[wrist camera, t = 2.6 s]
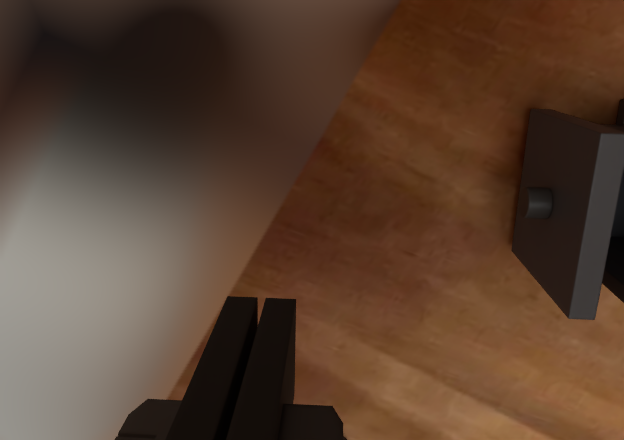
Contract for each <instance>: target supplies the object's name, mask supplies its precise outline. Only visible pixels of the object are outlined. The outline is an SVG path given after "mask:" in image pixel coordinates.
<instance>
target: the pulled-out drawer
mask: <svg viewBox="0 0 624 440" xmlns="http://www.w3.org/2000/svg"><path fill="white" fill-rule="evenodd" d="M512 252H513V253H514V254H515V255H516V257H517V258H518V259H519V260H520V261H521V263H522V264H523V265H524V266H525V267H526V268H527V270H528V271H529V272H530V273H531V274H532V276H533V277H534V278H535V279H536V280H537V282H538V283H539V284H540V285H541V286H542V288H543V289H544V290H545V291H546V292H547V294H548V295H549V296H550V297H551V298H552V299H553V301H554V302H555V303H556V304H557V305H558V307H559V308H560V309H561V310H562V311H563V313H564V314H565V315H566V316H567V317H568V318H569V319H588V320H595V316H596V311H597V306H598V300H599V295H600V290H601V285H602V284H604V285H605V286H606V287H607V288H608V289H609V290H610V291H611V292H612V293H613V294H615V295H616V296H617V297H618V298H619V299H620V300H621V301H622V302H623V303H624V125H603V124H596V123H593V122H590V121H587V120H583V119H580V118H577V117H574V116H571V115H567V114H564V113H561V112H558V111H555V110H550V109H531V111H530V118H529V126H528V133H527V140H526V148H525V155H524V162H523V170H522V177H521V184H520V192H519V199H518V206H517V214H516V221H515V228H514V236H513V243H512Z"/></svg>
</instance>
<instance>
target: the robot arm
mask: <svg viewBox="0 0 624 440" xmlns="http://www.w3.org/2000/svg"><path fill="white" fill-rule="evenodd" d="M295 329H296V299H279V298H266V300H265V303H264V307H263V310H262V314H261V317H260V321H259V324H258V305H257V298H255V297H231V296H227V299H226V301H225V303H224V306H223V308H222V310H221V312H220V315H219V317H218V319H217V322H216V324H215V326H214V329H213V331H212V333H211V335H210V338H209V340H208V342H207V345H206V347H205V349H204V352H203V354H202V356H201V358H200V361H199V363H198V365H197V368H196V370H195V372H194V375H193V377H192V379H191V381H190V384H189V386H188V388H187V391H186V393H185V395H184V398H183V400H182V401H179V400H157V399H147V400H146V401H145V402H144V403H142V404H141V405H140V406H139V407H138V408H136V409H135V410H134V411H132V412H131V413H130V414H129V415H128V417H127V419H126V420H125V422H124V424H123V426H122V428H121V430H120V431H119V433H118V437H116V438H115V440H343V422H342V421H341V419H340V418H339V416H338V414H337V413H336V411H335V409H334V408H333V406H320V405H299V404H293V400H294V385H295Z"/></svg>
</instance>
